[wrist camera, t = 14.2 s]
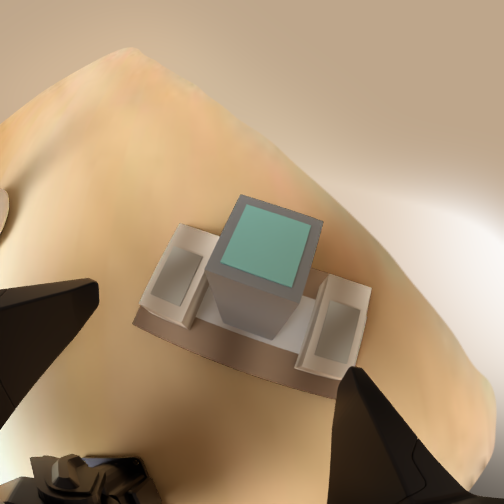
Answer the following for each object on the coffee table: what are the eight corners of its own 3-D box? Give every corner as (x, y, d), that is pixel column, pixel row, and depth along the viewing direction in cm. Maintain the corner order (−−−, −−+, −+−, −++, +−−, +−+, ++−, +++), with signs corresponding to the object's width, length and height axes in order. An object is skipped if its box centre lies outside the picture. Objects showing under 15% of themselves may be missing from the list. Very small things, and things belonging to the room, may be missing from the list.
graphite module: (272, 340, 21) (300, 302, 11) (223, 322, 21) (203, 268, 11) (288, 294, 22) (324, 220, 12) (241, 277, 23) (240, 192, 13)
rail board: (368, 291, 23) (388, 274, 20) (339, 400, 19) (359, 404, 16) (183, 228, 26) (174, 203, 22) (135, 325, 22) (115, 314, 18)
